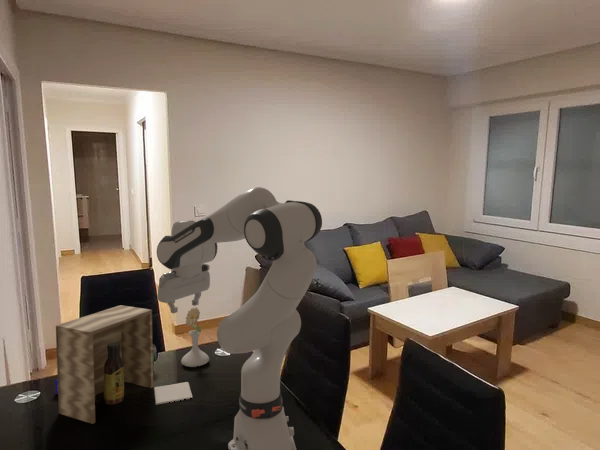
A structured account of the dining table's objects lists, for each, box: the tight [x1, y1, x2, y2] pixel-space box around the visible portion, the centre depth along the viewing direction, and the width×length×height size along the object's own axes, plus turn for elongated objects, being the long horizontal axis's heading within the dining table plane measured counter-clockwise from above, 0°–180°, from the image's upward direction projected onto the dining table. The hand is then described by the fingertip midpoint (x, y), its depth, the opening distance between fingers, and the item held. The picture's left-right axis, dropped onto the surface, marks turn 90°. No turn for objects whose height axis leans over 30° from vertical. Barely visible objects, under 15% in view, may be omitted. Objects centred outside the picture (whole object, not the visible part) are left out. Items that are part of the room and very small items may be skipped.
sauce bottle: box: [103, 342, 125, 406], centre depth 137 cm, size 6×6×20 cm
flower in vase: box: [180, 306, 210, 368], centre depth 167 cm, size 13×11×25 cm
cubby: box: [55, 304, 154, 425], centre depth 138 cm, size 15×26×29 cm, turn 157°
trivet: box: [153, 381, 193, 406], centre depth 143 cm, size 12×12×1 cm
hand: (185, 308), depth 135 cm, fingers open, 8 cm apart
